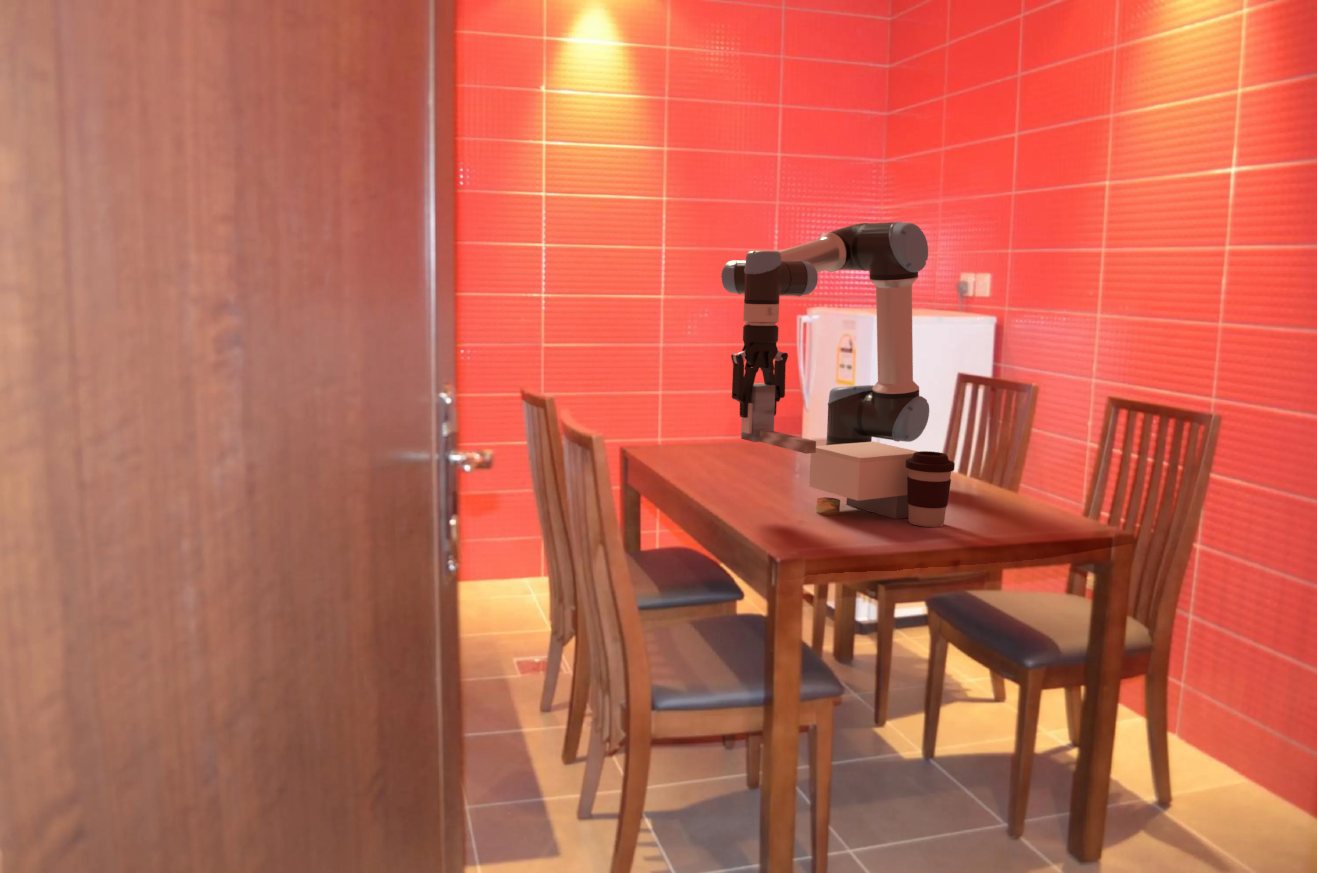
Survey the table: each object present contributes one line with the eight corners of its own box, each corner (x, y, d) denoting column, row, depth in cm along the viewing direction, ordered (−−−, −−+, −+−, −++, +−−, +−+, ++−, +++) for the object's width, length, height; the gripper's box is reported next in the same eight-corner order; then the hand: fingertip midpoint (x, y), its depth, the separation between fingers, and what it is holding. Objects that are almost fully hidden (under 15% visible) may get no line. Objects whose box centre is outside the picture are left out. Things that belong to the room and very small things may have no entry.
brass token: (811, 512, 231) (812, 498, 231) (829, 509, 234) (830, 496, 234) (826, 516, 227) (827, 503, 227) (844, 514, 230) (844, 501, 229)
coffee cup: (917, 530, 216) (921, 458, 214) (893, 519, 226) (897, 450, 224) (959, 528, 219) (964, 457, 217) (934, 517, 229) (939, 449, 226)
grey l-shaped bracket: (741, 438, 230) (742, 383, 228) (759, 437, 233) (761, 383, 231) (801, 454, 212) (803, 394, 210) (820, 452, 215) (823, 393, 213)
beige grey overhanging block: (808, 508, 234) (811, 446, 232) (869, 501, 243) (873, 441, 241) (856, 524, 220) (859, 458, 218) (919, 515, 230) (923, 452, 227)
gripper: (736, 325, 217) (732, 436, 221) (805, 324, 227) (801, 431, 230) (715, 323, 224) (713, 431, 228) (784, 322, 233) (780, 426, 237)
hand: (757, 431), depth 229 cm, fingers closed on grey l-shaped bracket, 5 cm apart
